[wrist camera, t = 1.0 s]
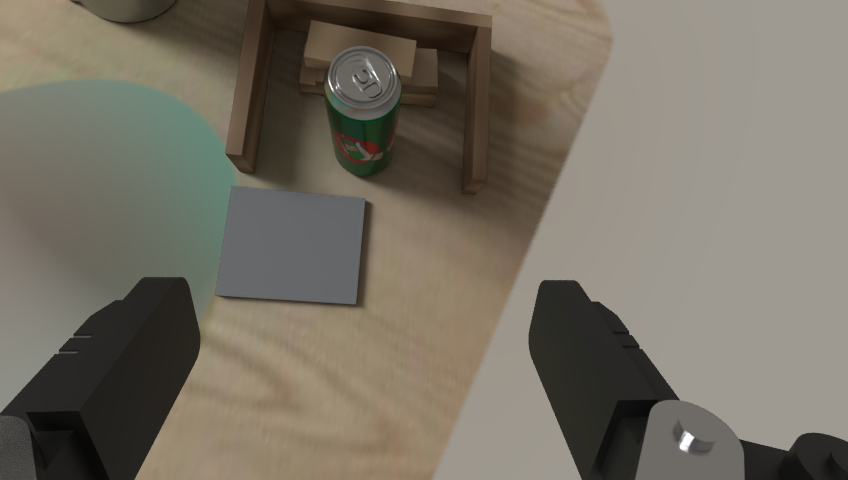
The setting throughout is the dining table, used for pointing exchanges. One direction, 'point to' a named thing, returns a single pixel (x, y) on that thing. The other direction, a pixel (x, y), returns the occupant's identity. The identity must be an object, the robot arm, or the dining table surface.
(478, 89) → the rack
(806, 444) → the robot arm
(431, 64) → the offcut stack
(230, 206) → the mat
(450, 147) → the dining table surface
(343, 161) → the soda can
